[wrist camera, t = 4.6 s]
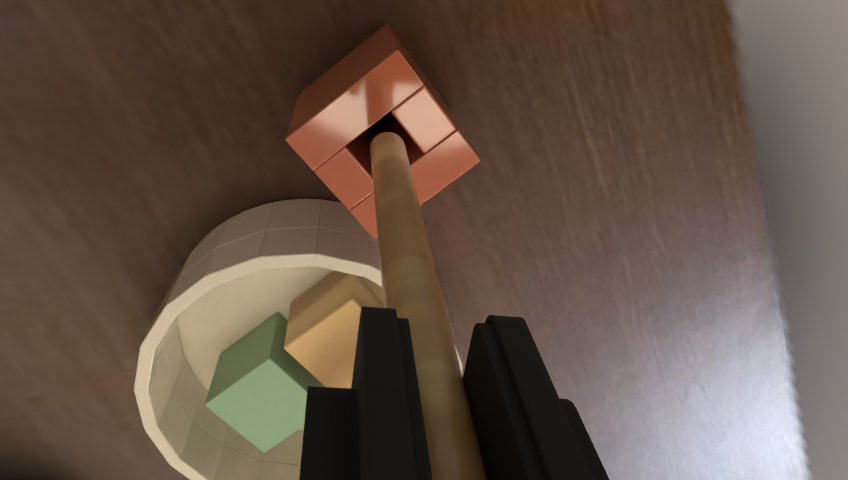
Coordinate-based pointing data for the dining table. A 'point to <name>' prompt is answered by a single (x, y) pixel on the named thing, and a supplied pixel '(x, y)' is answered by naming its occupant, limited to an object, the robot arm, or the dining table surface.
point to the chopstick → (422, 313)
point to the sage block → (261, 386)
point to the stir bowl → (239, 327)
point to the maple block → (330, 326)
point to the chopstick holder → (362, 107)
